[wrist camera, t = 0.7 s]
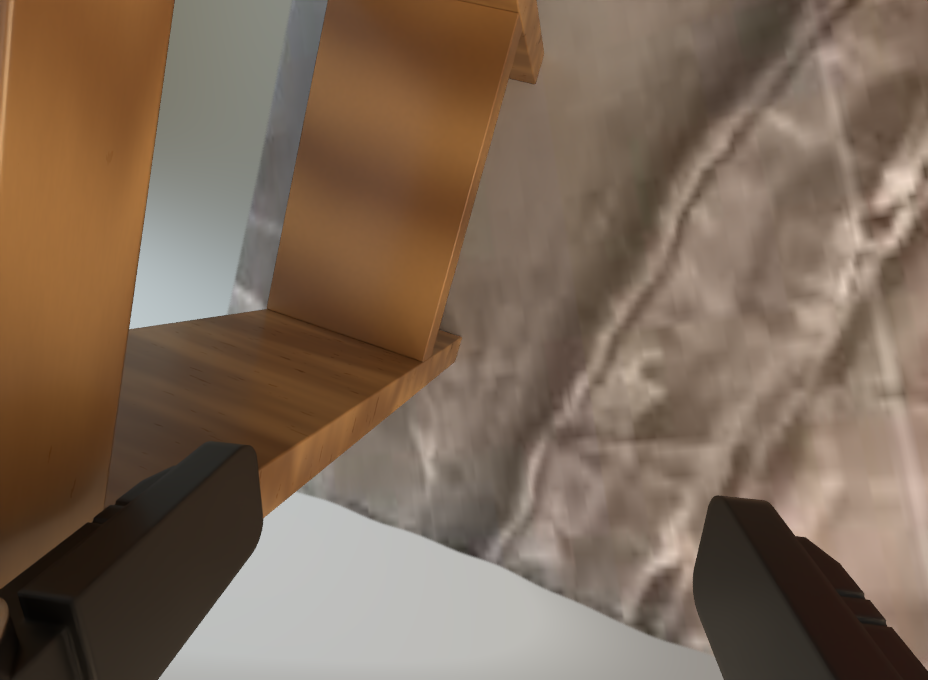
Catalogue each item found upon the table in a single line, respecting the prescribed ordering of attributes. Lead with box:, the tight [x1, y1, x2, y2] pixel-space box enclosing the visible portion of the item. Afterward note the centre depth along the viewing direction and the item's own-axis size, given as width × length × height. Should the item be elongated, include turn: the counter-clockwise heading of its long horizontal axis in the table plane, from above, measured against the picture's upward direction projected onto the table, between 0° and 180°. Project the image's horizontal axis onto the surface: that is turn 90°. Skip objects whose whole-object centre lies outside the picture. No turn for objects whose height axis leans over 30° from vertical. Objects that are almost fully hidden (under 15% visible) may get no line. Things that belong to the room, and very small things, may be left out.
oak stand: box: [0, 0, 544, 589], centre depth 21 cm, size 22×10×31 cm, turn 164°
